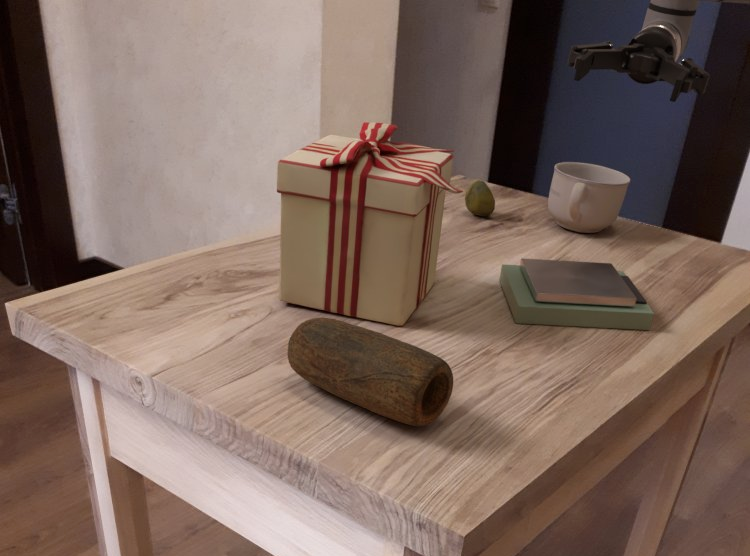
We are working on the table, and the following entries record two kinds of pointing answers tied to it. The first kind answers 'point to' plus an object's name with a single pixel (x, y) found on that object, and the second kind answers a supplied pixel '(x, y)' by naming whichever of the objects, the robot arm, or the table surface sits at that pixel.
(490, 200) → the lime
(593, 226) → the teacup
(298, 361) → the wooden vase
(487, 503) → the table surface
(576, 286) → the pan
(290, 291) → the gift box
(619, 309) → the scale
